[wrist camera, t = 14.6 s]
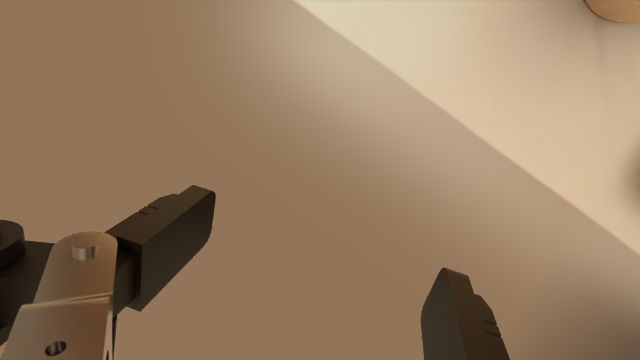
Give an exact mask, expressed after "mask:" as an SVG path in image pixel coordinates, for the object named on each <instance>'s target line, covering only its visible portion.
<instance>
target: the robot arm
mask: <svg viewBox="0 0 640 360" xmlns="http://www.w3.org/2000/svg"><path fill="white" fill-rule="evenodd" d="M585 1H586V3H587V5H588V6H589V8H590V9H591V10H593V11H594V12H595V13H596V14H597V15H599V16H601V17H603V18H605V19H606V20H610V21H615V22H639V21H640V0H585ZM215 198H216V195H215V193H214V192H213V191H210V190H207V189H204V188H201V187H198V186H195V185H193V186H190V187H189V188H188V189H186V190H185V191H183V192H182V193H180V194H179V195H177V194H171V195H168V196H164V197H160V198H159V199H157V200H155V201H153V202H152V203H150V204H149V205H148V206H147V207H144V208H142V209H141V210H139V212H138V213H137V212H136V213H135V214H133V215H131V216H130V217H128V218H127V219H125V220H123V221H122V222H120V223H119V224H117V225H115V226H114V227H112V228H111V229H109V230H108V231H106V232H97V231H87V232H79V233H75V234H72V235H69V236H66V237H64V238H62V239H61V240H59V241H58V242H57V243H55V244H53V243H44V242H33V241H25V238H24V231H23V228H22V226H21V225H19V224H17V223H15V222H12V221H6V220H0V346H1V345H2V344H3V343H5V342H6V341H7V343H6V345H5V348H4V351H3V353H2V356H1V359H0V360H115V352H116V340H117V327H118V313H119V312H120V311H122V309H124V308H125V307H129V308H132V309H135V310H137V311H141V310H142V309H143V308H144V307H145V306H146V305H147V304H148V303H149V302H150V301H151V300H152V299H153V298H154V297H155V296H156V295H157V294H158V293H159V292H160V291H161V290H162V289H163V288H164V287H165V286H166V285H167V283H169V282H170V280H171V279H172V278H173V277H174V276H175V275H176V274H177V273H178V272H179V271H180V270H181V269H182V268H183V267H184V266H185V265H186V264H187V263H188V262H189V261H190V260H191V259H192V258H193V257H194V256H195V255H196V254H197V253H198V252H199V251H200V250H201V248H202V247H203V246H204V245H205V244H206V242H207V241H208V238H209V236H210V234H211V229H212V222H213V215H214V206H215ZM496 325H497V323H496V320H495V318H494V315H493V312H492V310H491V309H490V307H489V306H488V305H487V303H486V302H485V301H484V300H483V298H482V297H481V296H479V295H476V294H474V292H473V289H472V286H471V283H470V280H469V277H468V276H467V275H465V274H462V273H459V272H456V271H453V270H450V269H447V268H442V269H441V271H440V272H439V274H438V276H437V278H436V280H435V282H434V284H433V286H432V288H431V291H430V293H429V295H428V296H427V299H426V301H425V303H424V305H423V309H422V313H421V329H422V340H423V351H424V360H510V359H509V356H508V353H507V350H506V348H505V345H504V342H503V339H502V338H501V334H500V331H499V329H498V327H497V326H496Z"/></svg>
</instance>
